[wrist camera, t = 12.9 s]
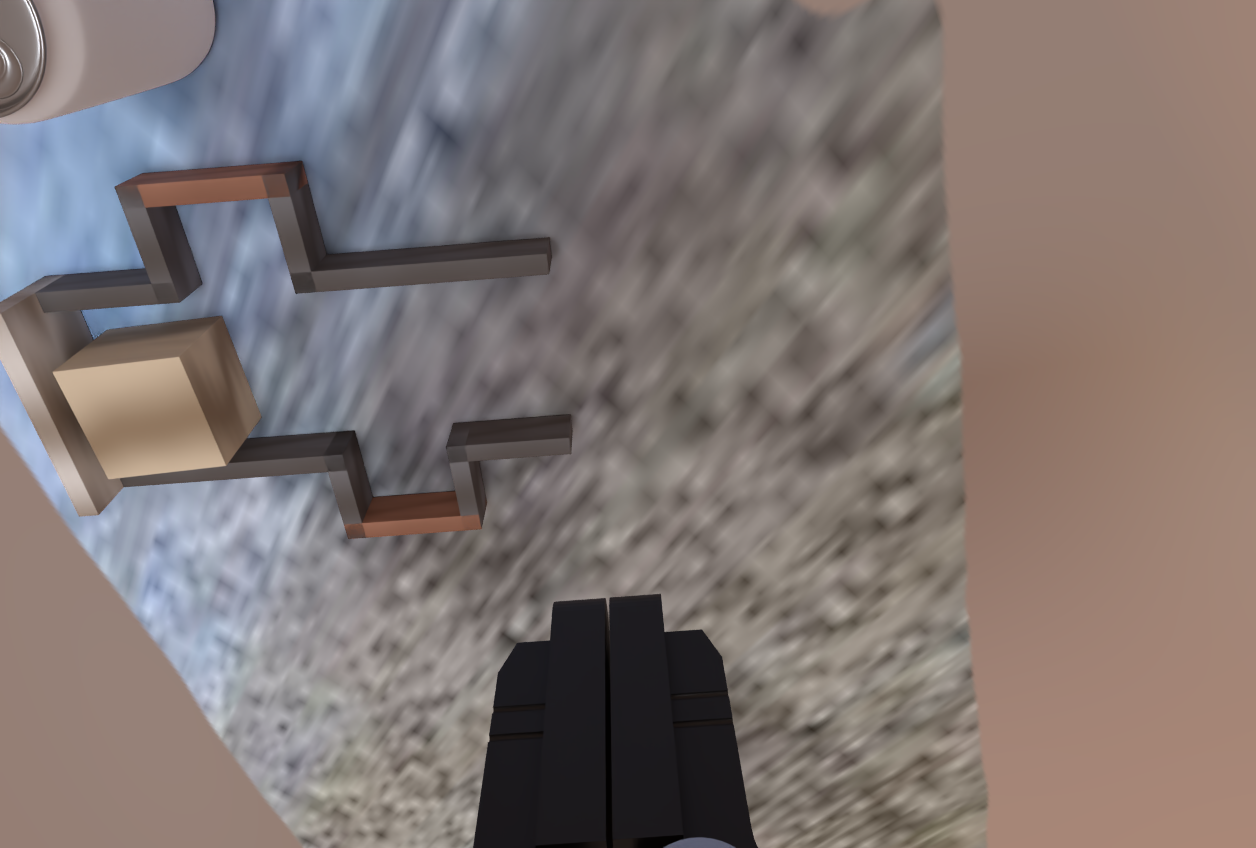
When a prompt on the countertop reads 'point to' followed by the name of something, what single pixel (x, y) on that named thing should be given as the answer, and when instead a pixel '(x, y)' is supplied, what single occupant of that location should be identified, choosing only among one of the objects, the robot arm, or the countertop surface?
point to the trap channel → (56, 330)
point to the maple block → (160, 397)
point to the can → (94, 51)
